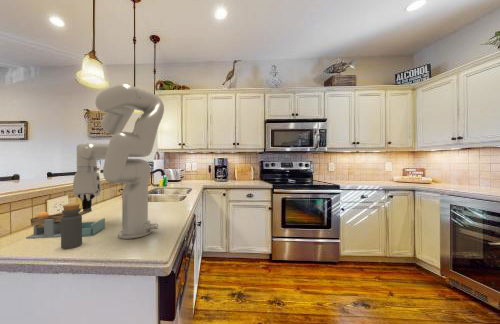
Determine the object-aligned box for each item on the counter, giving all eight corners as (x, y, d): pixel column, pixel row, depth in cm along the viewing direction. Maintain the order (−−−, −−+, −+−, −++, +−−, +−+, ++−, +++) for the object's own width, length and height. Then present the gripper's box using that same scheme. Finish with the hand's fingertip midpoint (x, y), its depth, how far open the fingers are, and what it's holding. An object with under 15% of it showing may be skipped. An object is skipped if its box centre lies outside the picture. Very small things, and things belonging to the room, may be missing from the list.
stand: (81, 229, 95) (81, 213, 95) (67, 236, 86) (66, 219, 86) (44, 231, 92) (44, 215, 92) (26, 238, 84) (26, 220, 84)
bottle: (69, 249, 73) (69, 206, 73) (56, 248, 74) (56, 205, 74) (86, 243, 79) (86, 203, 79) (73, 242, 80) (73, 202, 80)
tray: (104, 228, 97) (104, 218, 97) (92, 235, 87) (92, 224, 87) (82, 229, 95) (82, 219, 95) (67, 237, 85) (66, 225, 85)
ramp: (93, 213, 103) (92, 205, 103) (71, 223, 87) (70, 213, 87) (59, 218, 101) (58, 209, 100) (31, 228, 85) (30, 219, 85)
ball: (51, 218, 90) (50, 210, 90) (44, 220, 87) (43, 212, 87) (42, 219, 90) (40, 211, 90) (35, 221, 86) (33, 213, 86)
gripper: (108, 169, 106) (108, 206, 106) (74, 169, 103) (74, 207, 104) (99, 170, 98) (99, 209, 98) (63, 170, 96) (63, 210, 96)
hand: (86, 208), depth 101 cm, fingers closed
